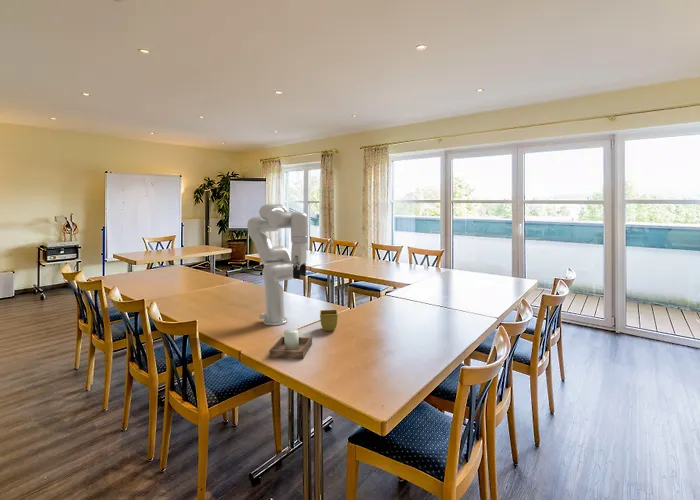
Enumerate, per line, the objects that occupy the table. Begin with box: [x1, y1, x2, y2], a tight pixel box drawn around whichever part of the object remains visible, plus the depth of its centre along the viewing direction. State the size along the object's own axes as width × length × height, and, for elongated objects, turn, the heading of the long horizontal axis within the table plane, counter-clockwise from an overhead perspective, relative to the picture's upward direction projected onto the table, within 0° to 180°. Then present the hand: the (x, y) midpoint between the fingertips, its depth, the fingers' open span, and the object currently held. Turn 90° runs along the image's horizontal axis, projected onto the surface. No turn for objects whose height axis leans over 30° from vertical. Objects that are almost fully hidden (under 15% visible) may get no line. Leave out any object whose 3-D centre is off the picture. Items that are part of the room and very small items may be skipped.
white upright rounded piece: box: [283, 328, 300, 351], centre depth 150 cm, size 6×6×8 cm
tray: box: [268, 336, 313, 360], centre depth 151 cm, size 14×16×3 cm
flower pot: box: [319, 309, 339, 332], centre depth 177 cm, size 9×9×9 cm
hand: (299, 276), depth 164 cm, fingers open, 9 cm apart
